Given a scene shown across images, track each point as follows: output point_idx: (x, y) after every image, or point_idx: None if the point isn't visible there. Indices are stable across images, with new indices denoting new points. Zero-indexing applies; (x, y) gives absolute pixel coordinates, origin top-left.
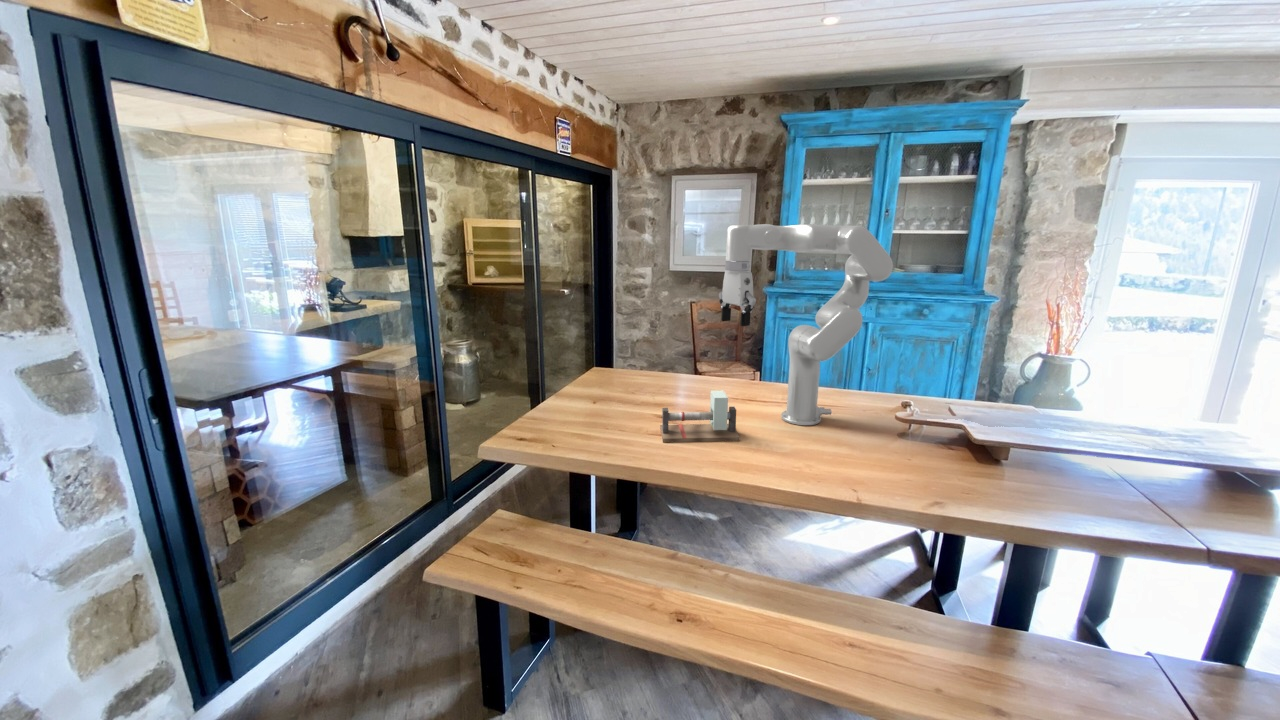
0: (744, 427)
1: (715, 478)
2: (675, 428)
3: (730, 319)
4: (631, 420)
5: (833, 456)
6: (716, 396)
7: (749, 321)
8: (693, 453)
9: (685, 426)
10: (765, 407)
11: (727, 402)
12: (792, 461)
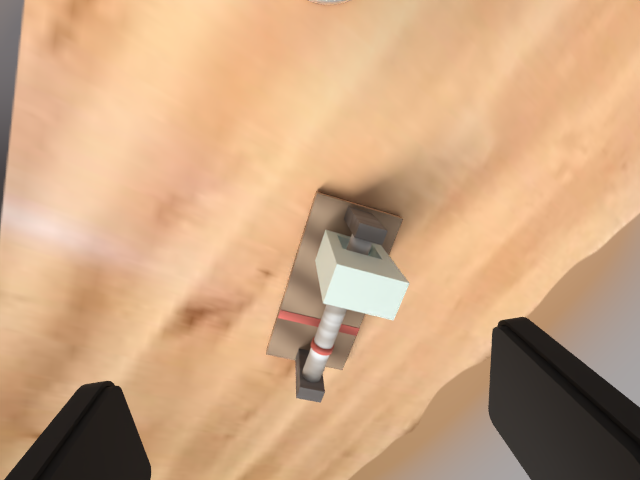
0: (325, 157)
1: None
2: (297, 331)
3: (112, 390)
4: (193, 387)
5: (571, 46)
6: (383, 309)
7: (556, 349)
8: (409, 327)
9: (294, 307)
10: None
11: (404, 277)
12: (536, 161)
